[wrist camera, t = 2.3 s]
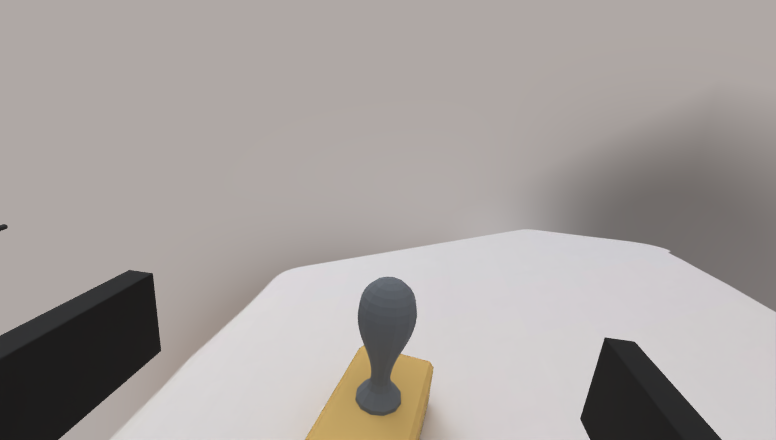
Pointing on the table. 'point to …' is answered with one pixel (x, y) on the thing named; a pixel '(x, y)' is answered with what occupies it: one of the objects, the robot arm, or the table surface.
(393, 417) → the rubber stamp
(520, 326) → the table surface
